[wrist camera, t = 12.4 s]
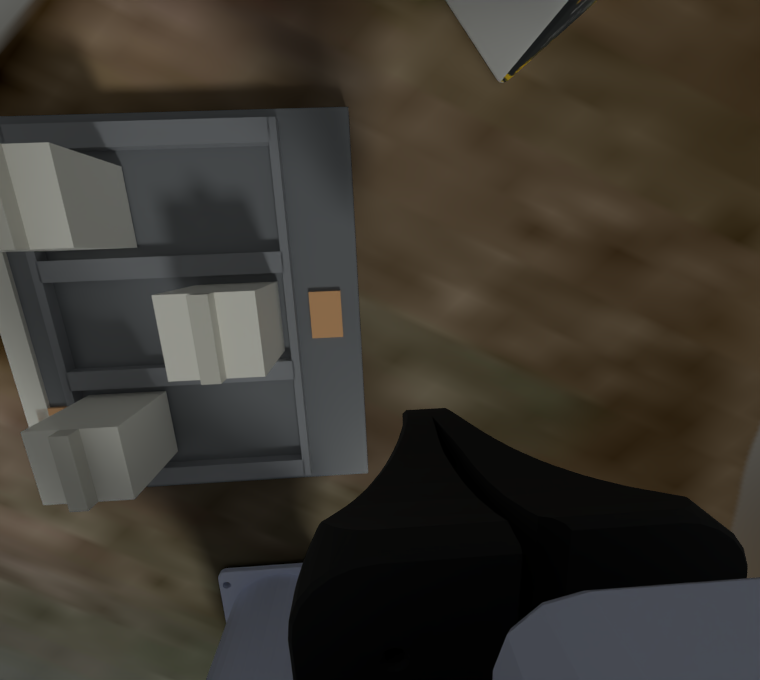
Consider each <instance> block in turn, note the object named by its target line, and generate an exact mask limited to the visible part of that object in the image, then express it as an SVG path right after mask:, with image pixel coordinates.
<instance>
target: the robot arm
mask: <svg viewBox="0 0 760 680" xmlns="http://www.w3.org/2000/svg"><path fill="white" fill-rule="evenodd" d="M218 581H219V586H220V592H221V597H222V603H223V608H224V613H225V619H226V626H225V629H224V631H223V634H222V637H221V640H220V642H219V645H218V648H217V651H216V654H215V656H214V659H213V662H212V665H211V667H210V670H209V673H208V676H207V678H206V680H760V577H759V578H747V561H746V557H745V553H744V549H743V547H742V545H741V544H740V543H739V541H738V540H737V538H736V537H735V535H734V534H733V533H732V532H731V531H729V530H728V529H727V528H726V527H724V526H723V525H722V524H720V523H719V522H718V521H717V520H715V519H714V518H713V517H711V516H710V515H709V514H708V513H706V512H705V511H704V510H703V509H701V508H700V507H699V506H697V505H696V504H695V503H694V502H692V501H691V500H690V499H688V498H687V497H684V496H678V495H672V494H667V493H661V492H656V491H650V490H644V489H639V488H633V487H628V486H624V485H620V484H615V483H611V482H607V481H603V480H599V479H595V478H592V477H588V476H585V475H581V474H578V473H575V472H572V471H569V470H566V469H563V468H560V467H557V466H554V465H551V464H548V463H546V462H543V461H540V460H538V459H536V458H533V457H531V456H529V455H527V454H524V453H522V452H520V451H518V450H515V449H513V448H511V447H509V446H507V445H506V444H504V443H502V442H500V441H498V440H496V439H494V438H493V437H491V436H489V435H488V434H486V433H484V432H483V431H481V430H479V429H478V428H476V427H475V426H473V425H471V424H470V423H468V422H467V421H465V420H464V419H462V418H461V417H459V416H458V415H456V414H455V413H453V412H452V411H450V410H448V409H446V408H438V409H420V410H406V411H405V412H404V413H403V427H402V430H401V433H400V436H399V439H398V442H397V444H396V446H395V448H394V450H393V452H392V454H391V456H390V458H389V460H388V461H387V463H386V465H385V466H384V468H383V469H382V471H381V472H380V473H379V475H378V476H377V477H376V478H375V480H374V481H373V482H372V483H371V484H370V485H369V487H368V488H367V489H366V490H365V491H364V492H363V493H362V494H360V495H359V496H358V497H357V498H356V499H355V500H354V501H352V502H351V503H350V504H348V505H347V506H346V507H344V508H343V509H341V510H340V511H338V512H337V513H335V514H333V515H332V516H330V517H329V518H327V519H326V520H324V521H322V522H321V523H320V524H319V526H318V528H317V530H316V532H315V535H314V537H313V539H312V541H311V543H310V546H309V548H308V551H307V553H306V556H305V558H304V561H303V563H293V564H278V565H264V566H250V567H236V568H225V569H223V570H221V572H220V574H219V576H218ZM227 582H229V583H227Z"/></svg>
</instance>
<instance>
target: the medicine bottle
mask: <svg viewBox="0 0 760 680" xmlns="http://www.w3.org/2000/svg"><path fill="white" fill-rule="evenodd" d="M445 1H446V2H447V4H448V6H449V7H450V9H451V10H452V12H453V13H454V15H455V16H456V18H457V19H458V21H459V22H460V24H461V26H462V27H463V29H464V30H465V32H466V33H467V35H468V36H469V38H470V39H471V41H472V42H473V44H474V46H475V47H476V49H477V50H478V52H479V53H480V55H481V56H482V58H483V59H484V61H485V62H486V64H487V66H488V67H489V69H490V70H491V72H492V73H493V75H494V76H495V78H496V79H497V81H499V82H501V83H503V82H506V81H508V80H509V79H510V78H511V77H512V76H513V75H515V74H516V73H517V72H518V71H519V70H520V69H521V68H522V67H524V66H525V65H526V64H527V63H528V62H529V61H530V60H531V59H532V58H534V57H535V56H536V55H537V54H538V53H539V52H540V51H541V50H542V49H544V48H545V47H546V46H547V45H548V44H549V43H550V42H551V41H552V40H554V39H555V38H556V37H557V36H558V35H559V34H560V33H561V32H562V31H564V30H565V29H566V28H567V27H568V26H569V25H570V24H571V23H573V22H574V21H575V20H576V19H577V18H578V17H579V16H580V15H581V14H583V13H584V12H585V11H586V10H587V9H588V8H589V7H590V6H591V5H593V4H594V3H595V2H596V1H597V0H445Z"/></svg>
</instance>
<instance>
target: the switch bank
mask: <svg viewBox="0 0 760 680" xmlns="http://www.w3.org/2000/svg"><path fill="white" fill-rule="evenodd" d="M43 142H49V143H52V144H55V145H58V146H61V147H64V148H67V149H70V150H73V151H76V152H79V153H82V154H85V155H88V156H91V157H94V158H97V159H100V160H103V161H106V162H109V163H112V164H115V165H118V166H121V167H122V172H123V177H124V182H125V187H126V193H127V198H128V203H129V208H130V213H131V218H132V223H133V228H134V233H135V238H136V243H137V248H117V249H92V250H67V251H24V252H0V334H1V338H2V341H3V344H4V347H5V351H6V354H7V357H8V360H9V364H10V367H11V370H12V373H13V377H14V380H15V383H16V386H17V390H18V393H19V396H20V399H21V403H22V406H23V409H24V412H25V416H26V419H27V422H28V426H29V427H31V426H33V425H35V424H37V423H38V422H40V421H42V420H44V419H46V418H48V417H49V416H51V415H53V414H55V413H57V412H59V411H61V410H62V409H64V408H66V407H68V406H70V405H72V404H73V403H75V402H77V401H79V400H81V399H83V398H85V397H86V396H88V395H100V394H118V393H137V392H155V391H166V393H167V398H168V403H169V408H170V413H171V418H172V423H173V428H174V433H175V438H176V443H177V448H178V452H177V453H176V454H175V455H174V456H173V457H172V459H171V460H170V461H169V462H168V463H167V464H166V465H165V466H164V467H163V468H162V470H161V471H160V472H159V473H158V474H157V475H156V476H155V477H154V478H153V480H152V481H151V482H150V483H149V484H148V485H147V486H146V487H153V486H169V485H185V484H201V483H217V482H233V481H249V480H265V479H281V478H297V477H313V476H329V475H345V474H361V473H368V457H367V438H366V420H365V402H364V383H363V365H362V347H361V328H360V310H359V292H358V273H357V255H356V237H355V218H354V200H353V182H352V163H351V145H350V127H349V112H348V107H323V108H287V109H251V110H215V111H180V112H144V113H108V114H72V115H36V116H0V143H1V144H10V143H43ZM275 281H277V282H278V291H279V300H280V309H281V319H282V328H283V337H284V346H285V351H284V352H283V354H282V355H281V356H280V358H279V359H278V360H277V362H276V363H275V364H274V366H273V367H272V368H271V370H270V371H269V372H268V374H267V375H266V376H265V377H248V378H229V379H226V380H225V381H224V382H223V383H222V384H209V385H201V381H200V380H191V381H172V382H168V378H167V373H166V368H165V362H164V357H163V352H162V347H161V342H160V337H159V332H158V327H157V322H156V317H155V311H154V306H153V301H152V296H151V295H155V294H159V293H164V292H168V291H172V290H177V289H181V288H185V287H190V286H194V285H207V284H230V283H252V282H275Z"/></svg>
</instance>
